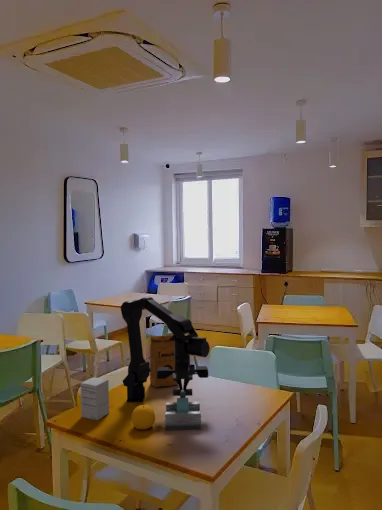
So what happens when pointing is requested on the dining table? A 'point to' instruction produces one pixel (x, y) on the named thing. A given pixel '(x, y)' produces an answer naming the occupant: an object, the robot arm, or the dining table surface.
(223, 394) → the dining table surface
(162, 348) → the coffee package
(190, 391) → the vise jaw
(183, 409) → the teal block
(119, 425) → the dining table surface
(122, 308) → the robot arm
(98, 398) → the supplement box
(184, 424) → the vise
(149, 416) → the orange fruit
